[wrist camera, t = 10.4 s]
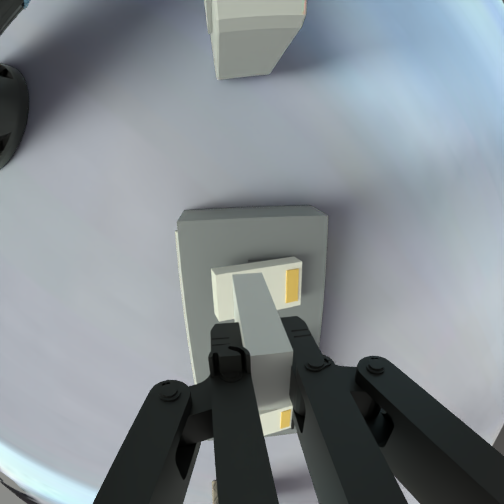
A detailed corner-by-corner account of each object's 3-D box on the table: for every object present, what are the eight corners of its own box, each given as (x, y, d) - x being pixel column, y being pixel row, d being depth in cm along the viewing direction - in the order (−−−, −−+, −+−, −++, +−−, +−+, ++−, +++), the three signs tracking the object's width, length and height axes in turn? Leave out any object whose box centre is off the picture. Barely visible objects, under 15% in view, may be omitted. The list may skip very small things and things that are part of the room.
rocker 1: (214, 313, 28) (219, 322, 27) (210, 268, 27) (216, 275, 25) (292, 298, 31) (301, 305, 29) (293, 256, 29) (302, 262, 28)
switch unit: (205, 411, 42) (205, 444, 36) (181, 210, 33) (172, 223, 27) (300, 403, 44) (311, 434, 37) (313, 205, 34) (334, 217, 28)
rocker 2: (227, 435, 34) (231, 445, 32) (224, 413, 32) (228, 423, 31) (286, 419, 36) (292, 428, 35) (288, 396, 35) (294, 405, 33)
